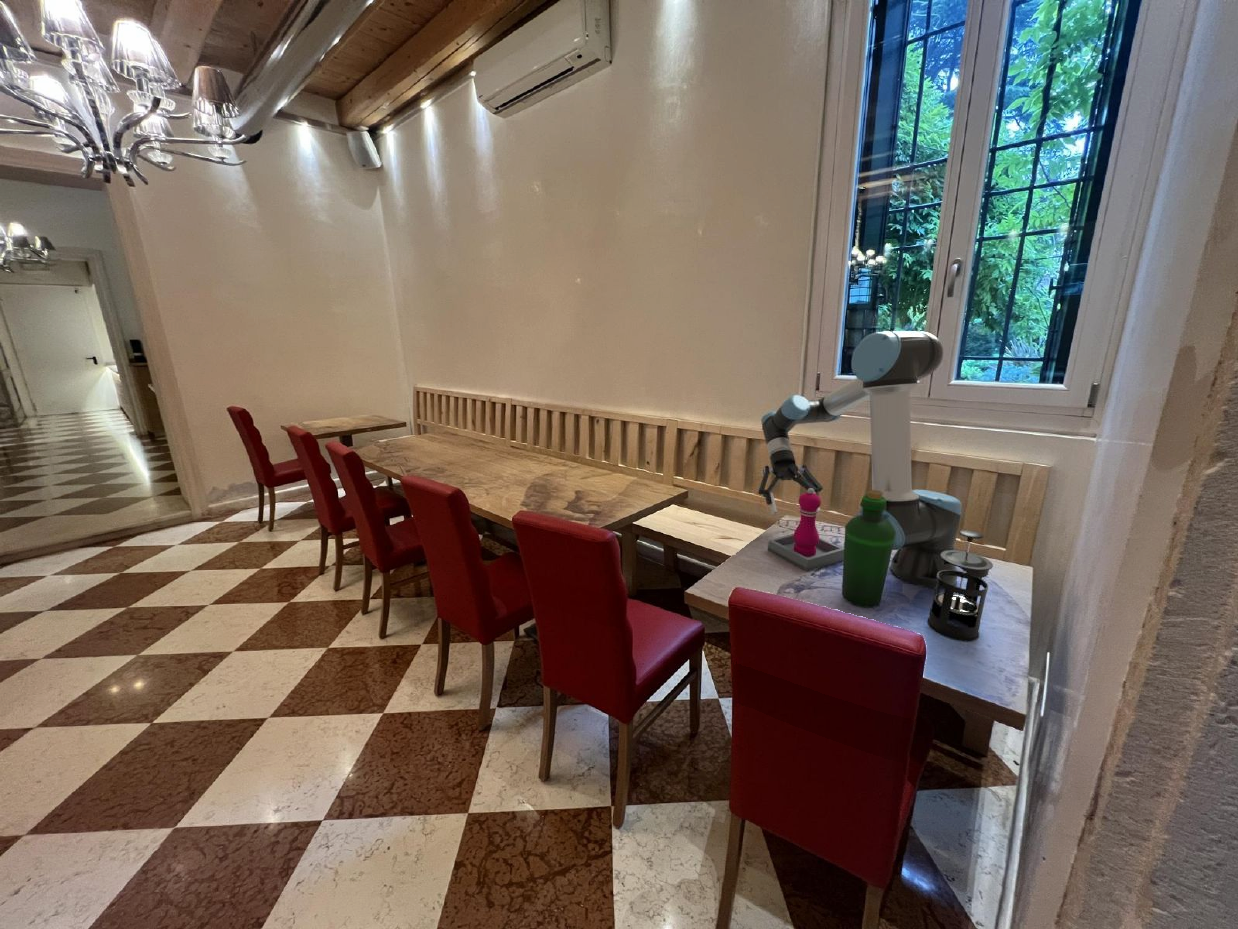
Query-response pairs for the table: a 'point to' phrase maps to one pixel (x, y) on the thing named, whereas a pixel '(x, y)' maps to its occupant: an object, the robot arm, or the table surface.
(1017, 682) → the table surface
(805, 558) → the tray
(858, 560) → the bottle
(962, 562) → the french press
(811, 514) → the pepper mill
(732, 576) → the table surface
